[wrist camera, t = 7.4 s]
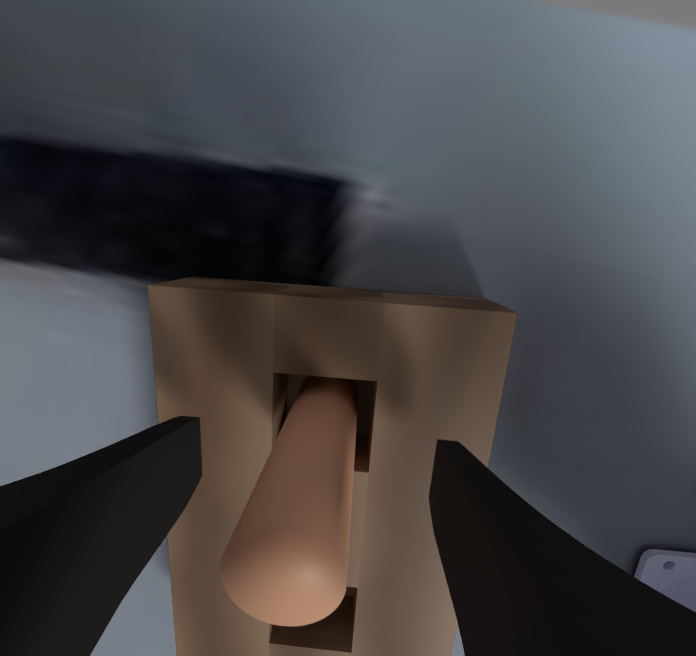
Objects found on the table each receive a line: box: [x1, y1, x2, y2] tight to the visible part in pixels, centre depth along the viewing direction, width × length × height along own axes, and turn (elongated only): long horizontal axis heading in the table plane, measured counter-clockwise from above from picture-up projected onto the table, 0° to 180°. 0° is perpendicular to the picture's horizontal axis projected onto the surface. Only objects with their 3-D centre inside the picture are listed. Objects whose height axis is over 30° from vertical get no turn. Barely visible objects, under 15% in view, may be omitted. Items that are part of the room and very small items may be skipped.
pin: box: [220, 376, 358, 626], centre depth 10 cm, size 2×2×8 cm
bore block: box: [148, 277, 518, 656], centre depth 15 cm, size 12×18×3 cm, turn 176°
